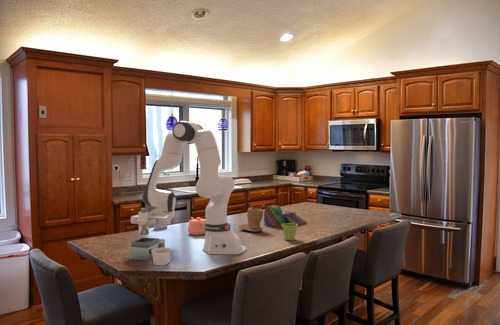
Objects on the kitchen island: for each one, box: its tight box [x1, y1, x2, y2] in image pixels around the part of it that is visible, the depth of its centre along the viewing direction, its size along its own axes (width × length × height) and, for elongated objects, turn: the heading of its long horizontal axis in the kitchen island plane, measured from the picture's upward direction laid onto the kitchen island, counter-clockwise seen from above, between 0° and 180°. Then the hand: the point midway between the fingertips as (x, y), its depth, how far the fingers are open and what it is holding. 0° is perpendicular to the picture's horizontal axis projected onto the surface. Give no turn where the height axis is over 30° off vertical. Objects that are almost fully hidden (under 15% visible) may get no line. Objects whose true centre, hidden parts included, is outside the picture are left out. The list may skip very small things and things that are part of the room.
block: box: [263, 204, 308, 229], centre depth 274 cm, size 25×17×14 cm
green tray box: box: [128, 237, 166, 261], centre depth 199 cm, size 11×18×8 cm, turn 166°
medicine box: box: [153, 225, 168, 230], centre depth 265 cm, size 8×4×9 cm, turn 141°
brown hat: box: [237, 207, 264, 233], centre depth 255 cm, size 15×12×15 cm
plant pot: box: [281, 223, 298, 242], centre depth 230 cm, size 9×9×9 cm
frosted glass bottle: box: [137, 207, 150, 236], centre depth 198 cm, size 5×5×13 cm
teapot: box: [187, 216, 206, 237], centre depth 247 cm, size 12×18×10 cm, turn 34°
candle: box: [151, 247, 172, 266], centre depth 184 cm, size 9×9×6 cm
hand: (142, 222), depth 197 cm, fingers closed on frosted glass bottle, 5 cm apart
